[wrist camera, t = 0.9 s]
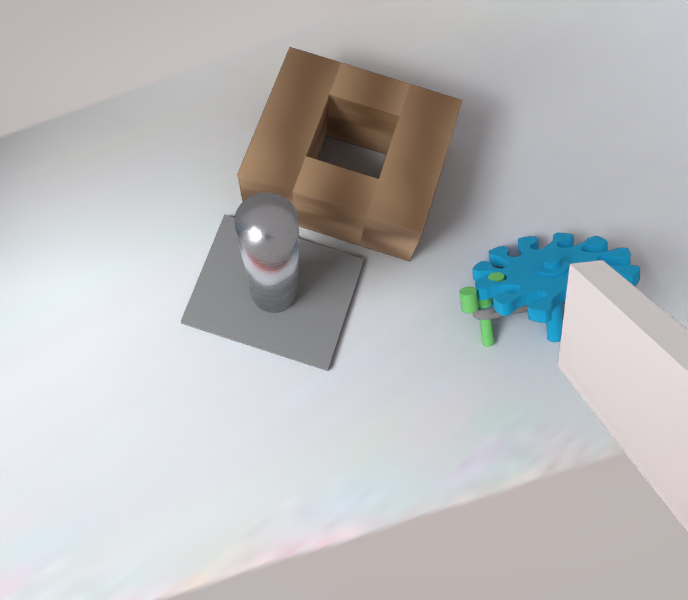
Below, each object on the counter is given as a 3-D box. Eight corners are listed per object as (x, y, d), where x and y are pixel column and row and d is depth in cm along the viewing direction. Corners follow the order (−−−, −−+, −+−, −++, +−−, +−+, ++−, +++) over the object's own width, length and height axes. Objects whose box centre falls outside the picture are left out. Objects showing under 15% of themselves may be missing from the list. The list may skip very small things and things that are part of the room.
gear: (595, 213, 45) (673, 278, 36) (596, 287, 48) (668, 363, 39) (438, 247, 45) (478, 320, 36) (449, 319, 48) (487, 403, 39)
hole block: (244, 208, 45) (237, 174, 40) (290, 91, 48) (289, 46, 43) (409, 261, 45) (422, 232, 40) (446, 140, 48) (462, 100, 43)
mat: (181, 323, 42) (180, 321, 42) (225, 216, 45) (224, 214, 44) (327, 370, 42) (328, 369, 42) (363, 261, 44) (364, 258, 44)
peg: (243, 304, 42) (224, 239, 32) (259, 260, 43) (247, 184, 33) (289, 319, 42) (286, 259, 32) (305, 275, 43) (307, 203, 33)
